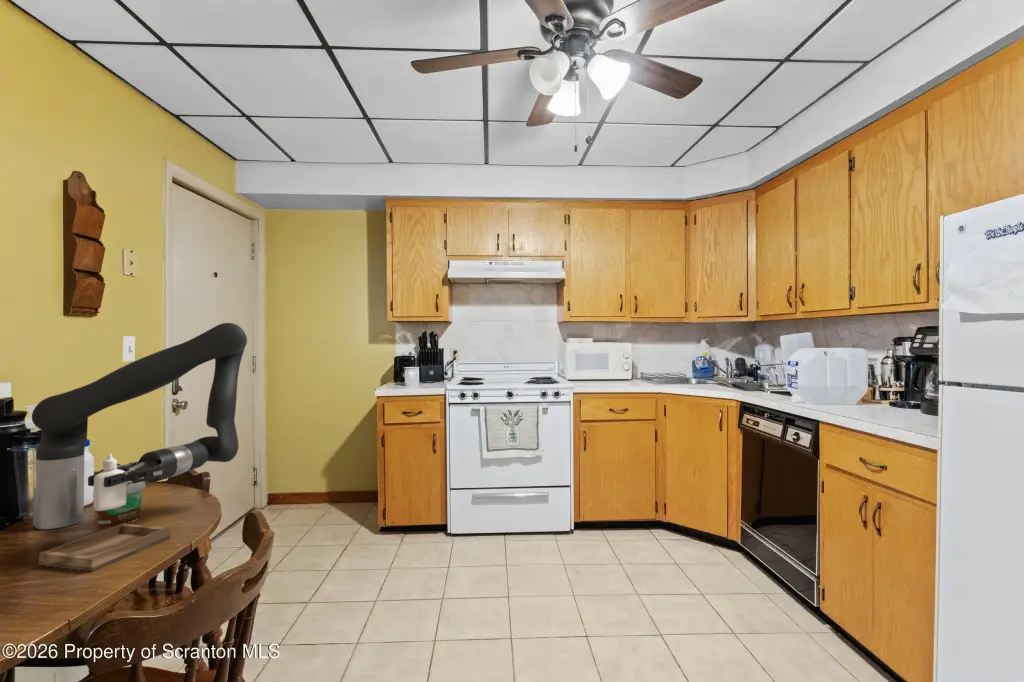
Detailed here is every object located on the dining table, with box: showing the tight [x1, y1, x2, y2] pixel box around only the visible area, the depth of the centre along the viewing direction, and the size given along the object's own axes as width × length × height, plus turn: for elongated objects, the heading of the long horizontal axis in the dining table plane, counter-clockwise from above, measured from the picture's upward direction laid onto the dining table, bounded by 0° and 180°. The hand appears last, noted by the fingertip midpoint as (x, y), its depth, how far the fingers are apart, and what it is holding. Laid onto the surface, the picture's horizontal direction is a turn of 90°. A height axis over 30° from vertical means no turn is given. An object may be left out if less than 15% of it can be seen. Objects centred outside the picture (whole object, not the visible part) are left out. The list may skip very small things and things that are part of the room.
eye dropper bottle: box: [93, 453, 126, 512], centre depth 112 cm, size 4×6×12 cm
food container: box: [92, 481, 147, 528], centre depth 131 cm, size 12×6×10 cm, turn 168°
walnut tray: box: [38, 523, 171, 573], centre depth 112 cm, size 14×18×2 cm
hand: (97, 482), depth 110 cm, fingers closed on eye dropper bottle, 3 cm apart
